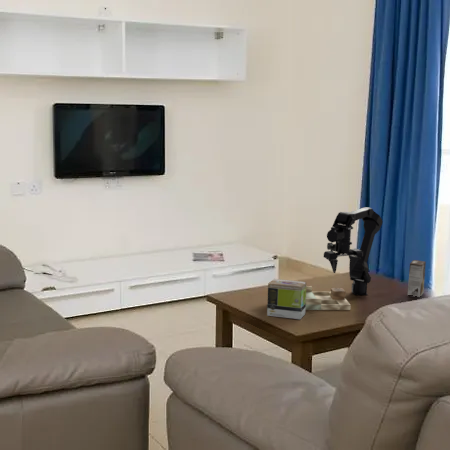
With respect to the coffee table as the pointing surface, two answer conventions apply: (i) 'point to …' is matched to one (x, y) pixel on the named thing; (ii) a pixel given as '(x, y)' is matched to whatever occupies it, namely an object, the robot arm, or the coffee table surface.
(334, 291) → the walnut block
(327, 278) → the coffee table surface
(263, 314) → the coffee table surface
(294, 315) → the tea box
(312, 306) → the board
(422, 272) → the coffee box
